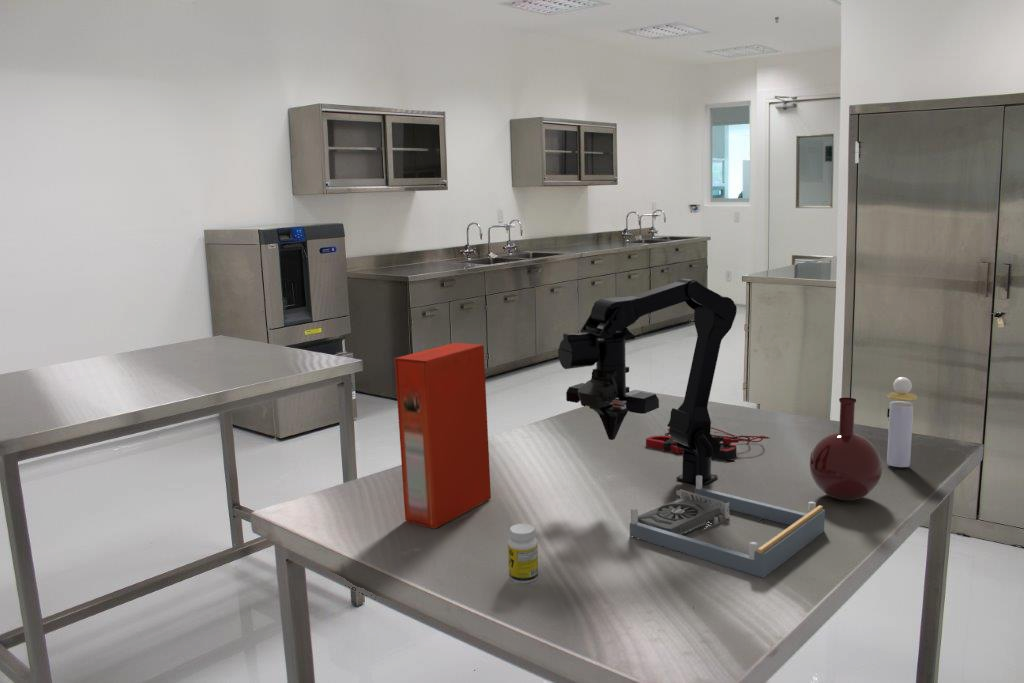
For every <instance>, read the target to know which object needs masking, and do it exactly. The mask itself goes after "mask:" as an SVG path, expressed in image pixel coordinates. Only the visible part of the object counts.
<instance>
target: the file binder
mask: <svg viewBox="0 0 1024 683" xmlns="http://www.w3.org/2000/svg"><path fill="white" fill-rule="evenodd" d="M484 349H485V348H484V345H483V344H475V343H473V344H472V343H462V342H452V343H448V344H445V345H440V346H437V347H433V348H430V349H425V350H421V351H418V352H413V353H409V354H406V355H402V356H399V357H395V358H394V372H395V384H396V385H395V387H396V399H397V400H396V401H397V414H398V415H397V416H398V417H397V418H398V428H399V429H398V431H399V444H400V445H399V447H400V460H401V461H400V462H401V475H402V490H403V503H404V507H403V508H404V519H405V522H408V523H411V524H416V525H419V526H423V527H427V528H431V529H437V528H439V527H441V526H443V525H444V524H447V523H448V522H450V521H452V520H454V519H456V518H458V517H459V516H461V515H463V514H465V513H467V512H468V511H470V510H472V509H475V508H476V507H478V506H479V505H481V504H484V503H485V502H487V501H488V500H489V501H490V500H491V498H492V493H491V492H492V491H491V472H490V452H489V451H490V450H489V448H490V447H489V429H488V411H487V410H488V408H487V406H488V405H487V392H486V391H487V390H486V369H485V368H486V366H485V365H486V364H485V350H484Z"/></svg>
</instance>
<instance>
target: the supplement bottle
mask: <svg viewBox="0 0 1024 683" xmlns="http://www.w3.org/2000/svg"><path fill="white" fill-rule="evenodd" d="M535 532H536V530H535V526H534V525H531V524H528V523H518V524H514V525H511V526H510V528H509V539H508V542H507V550H508V576H509V578H510V579H509V580H511V581H512V582H514V583H517V584H528V583H533V582H535V581H536V580H537V579H538V578H539V555H538V554H539V551H538V541H537V538H536V533H535Z"/></svg>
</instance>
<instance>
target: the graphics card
mask: <svg viewBox="0 0 1024 683" xmlns="http://www.w3.org/2000/svg"><path fill="white" fill-rule="evenodd" d="M676 495H677V496H679V498H676V500H674V501H672V502H669V503H666V504H663V505H660V506H659V507H656V508H653V509H652V510H649V511H647V512H643V513H642V514H640V515H639V514H638V523H642V524H645V525H648V526H652V527H655V528H659V529H662V530H665V531H669V532H672V533H676V534H679V535H681V534H683V533H685V532H687V533H689V532H688V531H690V530H692V531H694V530H696V529H699V528H701V527H704V526H705V524H706V523H707V521H709V522H710V523H712V524H710V523H707V524H709V525H711V526H708V525H706V526H708V527H710V528H712V527H714V526H717V525H718V524H720V523H724V522H726V521H727V520H728V519H729V518H730V509H729V508H728V506H729V503H726V504H725V503H724V502H723V501H719V500H716V499H712V498H709V497H706V496H702V495H699V494H695V492H692V491H688V490H685V489H681V488H680V489H676ZM695 496H697V498H698V501H695V500H696V498H695ZM692 497H693V498H692ZM699 497H701V499H702V502H701V501H700V498H699ZM703 498H705V499H707V501H708V500H710V502H711V504H709V501H708V502H706V503H704V502H703V501H705V499H703ZM713 500H714V502H713ZM715 502H716V505H715V506H714V504H715ZM718 502H719V505H718V506H717V504H718ZM720 504H721V507H720ZM726 519H727V520H726ZM700 526H701V527H700ZM698 527H699V528H698ZM695 528H696V529H695ZM705 528H706V527H705ZM693 529H694V530H693ZM690 532H691V531H690ZM685 534H686V533H685ZM683 535H684V534H683Z"/></svg>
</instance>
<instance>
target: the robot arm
mask: <svg viewBox="0 0 1024 683" xmlns="http://www.w3.org/2000/svg"><path fill="white" fill-rule="evenodd" d="M681 303H684V304H685V305H686V306H687V307H688V308H690V309H691V310H692V311H694V315H693V322H694V327H695V331H696V342H695V347H694V351H693V354H692V355H693V356H692V361H691V366H690V369H689V370H690V371H689V376H688V380H687V383H686V385H687V386H686V390H685V393H684V399H683V402H682V403H681V404H680V405H679V407H678V408H674V407H673V408H671V411H670V418H669V421H668V423H667V427H668V429H669V431H668V433H669V434H668V435H669V436H671V437H672V439H673V440H674V441H675V444H676V447H677V448H681V449H683V453H682V466H681V467H682V473H681V474H679V475H677V476H676V480H678V481H681V482H686V483H690V484H694V485H696V476H697V475H701V476H702V486H705V485H706V484H709V483H710V482H712V481H714V480H716V479H718V475H717V474H713V473H712V458H711V457H713V456H714V455H718V454H719V450H720V447H721V445H720V444H719V443H718V442H717V441H716V440H715V439H714V438H713V437H714V436H711V435H710V434H711V430H712V429H711V428H712V421H711V417H710V414H709V408H708V405H709V400H710V396H711V390H712V386H713V382H714V378H715V374H716V373H715V372H716V367H717V363H718V358H719V353H720V348H721V344H722V341H723V339H724V338H725V336H726V335H727V334H728V333H729V331H730V330H731V329H732V327H733V324H734V322H735V318H736V315H737V308H738V307H737V304H736V303H735V302H734V300H733V299H732V298H730V297H729V296H723V295H720V294H719V293H717V292H715V291H714V290H711V289H709V288H708V287H705V286H704V285H703V284H702V283H700V282H699V281H698V280H695V279H688V278H680V279H678V280H677V281H675V282H672V283H668V284H665V285H662V286H659V287H656V288H653V289H649V290H646V291H644V292H640V293H638V294H634V295H630V296H629V295H628V296H614V297H607V298H606V297H605V298H600V299H598V300H596V301H595V302H594V303H593V306H592V308H591V311H590V315H589V316H588V318H586V321H585V322H584V324H583V326H582V327H581V329H580V332H575V333H574V332H573V333H572V332H565V333H563V334H562V340H561V341H560V343H559V346H558V347H559V348H558V350H557V354H558V355H557V357H558V360H559V363H560V366H562V368H563V369H565V370H570V369H576V368H584V367H592V366H594V365H596V366H595V368H592V372H591V378H590V380H588V381H586V382H585V383H584V382H581V383H578V384H574V385H572V386H568V388H567V390H566V392H565V397H566V398H565V400H566V402H569V403H570V402H571V403H576V404H578V403H579V402H580V405H581V406H583V407H589V409H591V410H593V411H595V413H597V415H598V416H599V418H600V420H601V423H602V425H603V428H604V430H605V434H606V437H607V438H608V440H609V441H614V440H615V439H616V437H617V435H618V433H619V431H620V428H621V427H622V423H623V421H624V419H625V417H626V416H627V414H628V412H629V413H635V414H647V413H650V412H652V411H654V410H657V409H659V408H660V398H659V397H658V396H657V394H656V393H652V392H651V393H650V392H645V391H639V392H636V393H634V394H632V395H628V393H630V387H629V386H627V384H626V381H627V380H626V374H627V373H630V367H629V366H626V341H631V340H635V339H636V335H634V334H633V333H632V332H631V331H630V330H629V328H628V327H631V326H632V325H633V324H635V323H636V322H637V321H638V320H639V319H640V318H641V317H643V316H646V315H648V314H651V313H655V312H657V311H660V310H664V309H667V308H669V307H672V306H675V305H679V304H681ZM598 327H599V328H598Z"/></svg>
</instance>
